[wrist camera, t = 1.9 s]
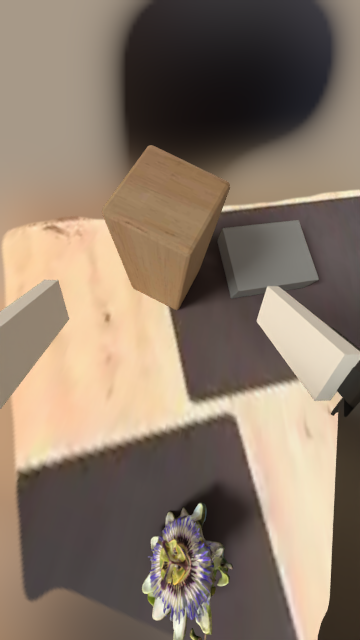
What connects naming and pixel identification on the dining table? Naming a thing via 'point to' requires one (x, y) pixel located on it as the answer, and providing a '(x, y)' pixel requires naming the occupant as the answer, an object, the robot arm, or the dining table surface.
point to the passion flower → (185, 572)
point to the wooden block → (164, 223)
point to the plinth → (265, 258)
